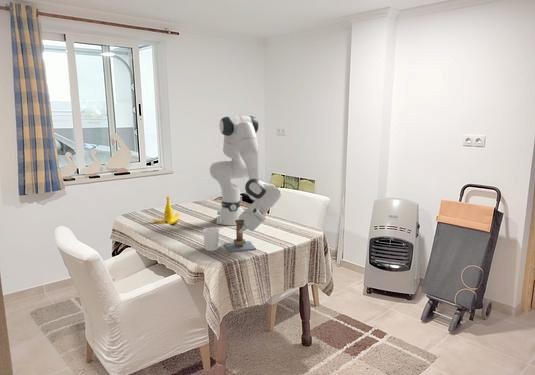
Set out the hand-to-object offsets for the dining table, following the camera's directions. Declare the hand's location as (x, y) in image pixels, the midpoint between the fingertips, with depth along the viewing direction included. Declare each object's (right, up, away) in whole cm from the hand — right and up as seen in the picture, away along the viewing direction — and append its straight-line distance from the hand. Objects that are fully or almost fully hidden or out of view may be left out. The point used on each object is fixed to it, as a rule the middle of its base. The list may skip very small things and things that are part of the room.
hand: (238, 231), depth 201 cm
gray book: (+1, -8, +2) cm, 9 cm away
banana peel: (-46, +1, +50) cm, 68 cm away
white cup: (-14, -9, 0) cm, 16 cm away
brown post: (+1, -6, +1) cm, 6 cm away
